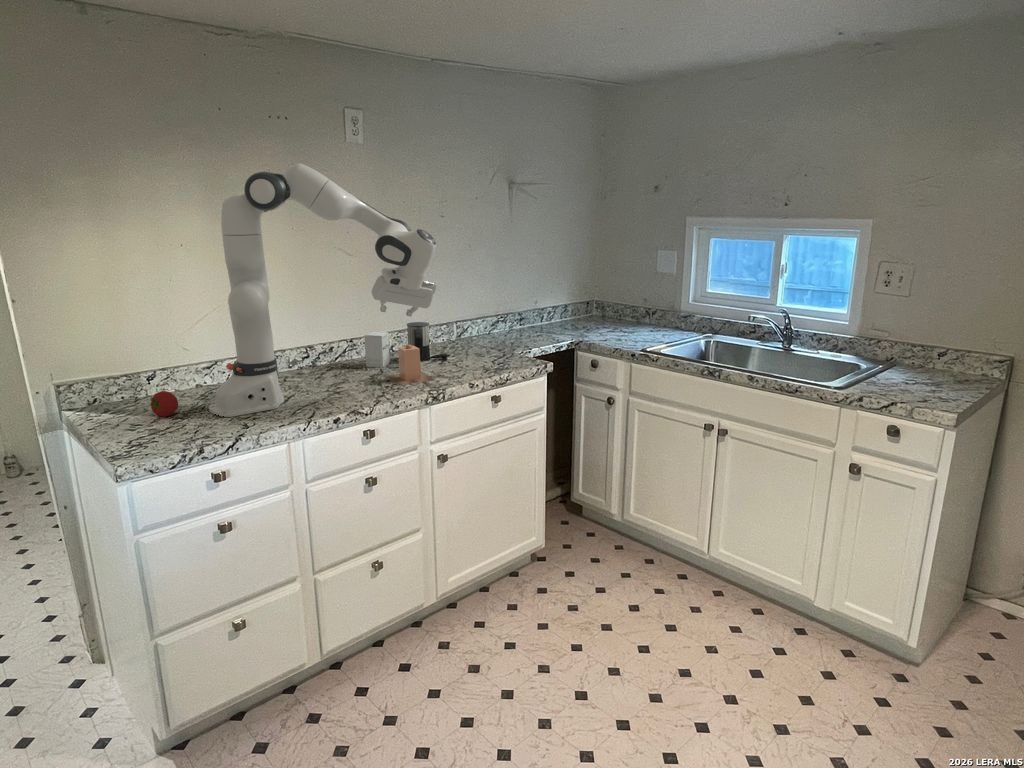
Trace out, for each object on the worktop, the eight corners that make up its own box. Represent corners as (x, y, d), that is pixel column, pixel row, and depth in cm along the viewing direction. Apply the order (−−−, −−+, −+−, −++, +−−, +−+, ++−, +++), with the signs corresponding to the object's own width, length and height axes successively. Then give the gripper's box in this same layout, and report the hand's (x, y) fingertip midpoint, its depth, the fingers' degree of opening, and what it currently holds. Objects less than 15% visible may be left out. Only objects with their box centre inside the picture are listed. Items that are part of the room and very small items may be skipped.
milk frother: (404, 358, 268) (403, 322, 264) (440, 354, 275) (439, 319, 271) (416, 366, 256) (414, 328, 252) (453, 361, 263) (452, 325, 259)
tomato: (174, 385, 199) (149, 386, 192) (186, 403, 196) (161, 406, 190) (164, 402, 202) (139, 404, 196) (175, 421, 200) (150, 424, 193)
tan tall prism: (405, 380, 231) (404, 347, 228) (399, 377, 236) (397, 344, 232) (420, 378, 234) (419, 345, 231) (414, 374, 239) (413, 342, 235)
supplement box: (383, 367, 253) (381, 335, 249) (365, 366, 254) (363, 335, 251) (390, 363, 260) (388, 332, 256) (373, 362, 261) (371, 331, 258)
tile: (399, 388, 226) (399, 385, 226) (384, 378, 237) (384, 376, 237) (436, 382, 233) (436, 379, 233) (420, 373, 244) (420, 370, 244)
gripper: (435, 278, 220) (420, 312, 226) (378, 267, 208) (364, 303, 215) (440, 289, 216) (426, 323, 222) (383, 277, 204) (369, 313, 211)
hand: (395, 313), depth 219 cm, fingers open, 8 cm apart
